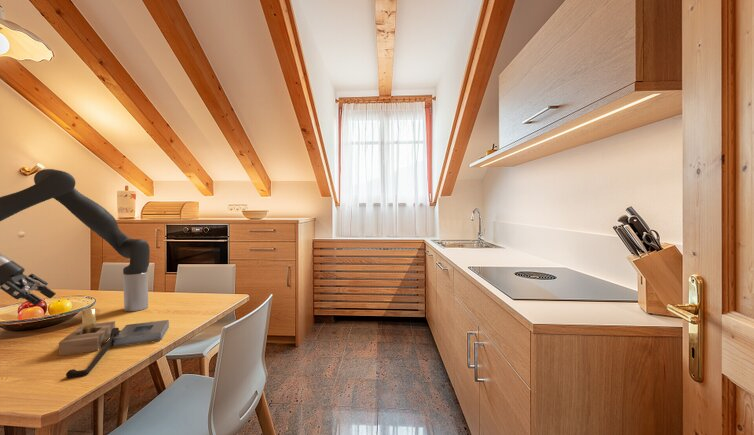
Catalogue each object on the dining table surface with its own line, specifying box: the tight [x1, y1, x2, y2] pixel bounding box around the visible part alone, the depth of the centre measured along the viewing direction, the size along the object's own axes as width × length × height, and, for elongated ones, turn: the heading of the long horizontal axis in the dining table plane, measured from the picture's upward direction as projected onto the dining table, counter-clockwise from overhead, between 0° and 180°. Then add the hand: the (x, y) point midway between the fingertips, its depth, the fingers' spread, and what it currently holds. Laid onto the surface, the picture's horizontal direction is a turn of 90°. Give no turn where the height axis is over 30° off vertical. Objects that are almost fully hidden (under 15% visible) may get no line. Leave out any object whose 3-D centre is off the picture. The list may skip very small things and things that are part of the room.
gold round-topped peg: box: [81, 307, 97, 334], centre depth 115 cm, size 4×4×10 cm
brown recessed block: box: [58, 320, 116, 357], centre depth 115 cm, size 17×10×4 cm, turn 23°
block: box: [113, 319, 170, 348], centre depth 122 cm, size 14×14×3 cm
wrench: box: [65, 327, 122, 379], centre depth 106 cm, size 5×5×30 cm
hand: (46, 299), depth 110 cm, fingers open, 8 cm apart
